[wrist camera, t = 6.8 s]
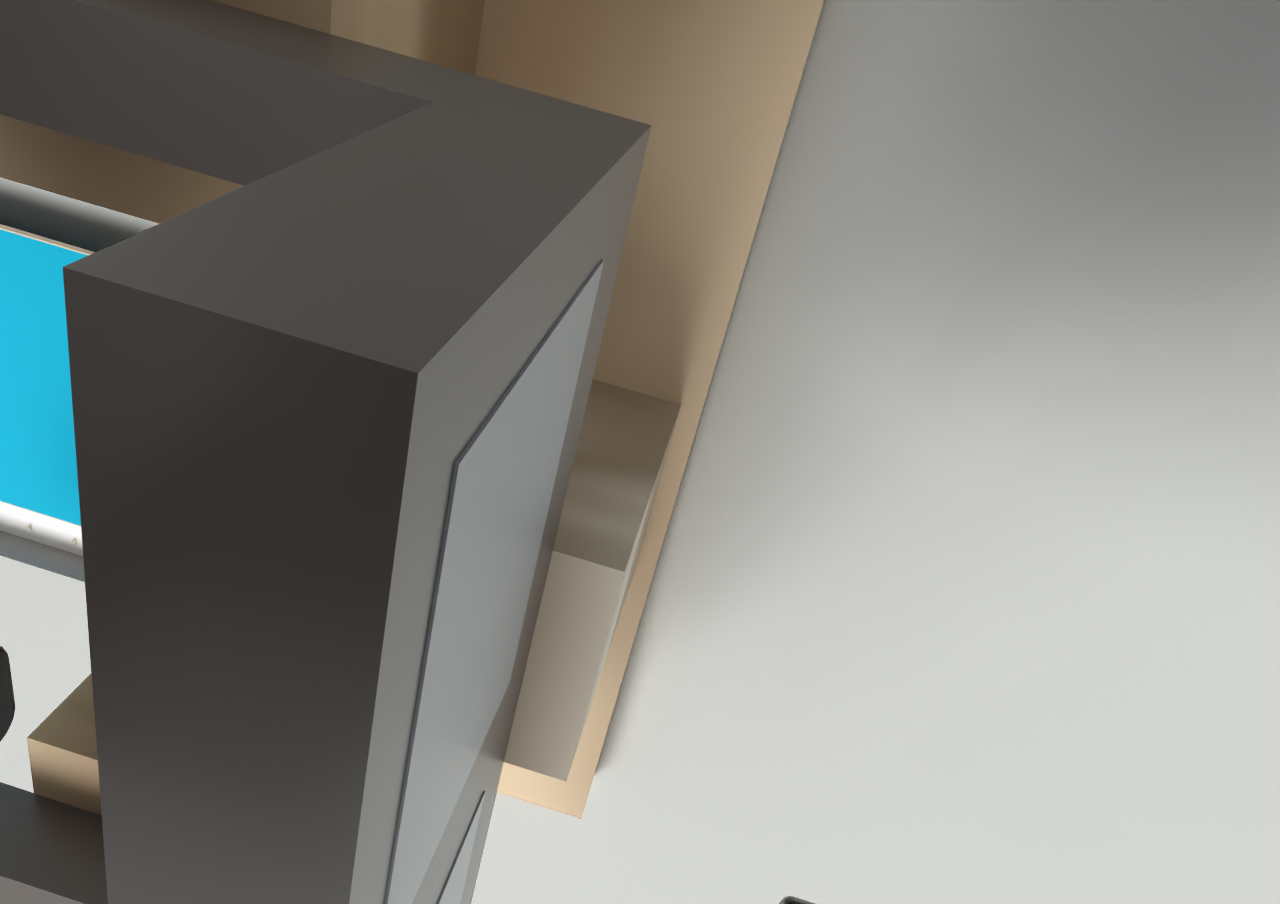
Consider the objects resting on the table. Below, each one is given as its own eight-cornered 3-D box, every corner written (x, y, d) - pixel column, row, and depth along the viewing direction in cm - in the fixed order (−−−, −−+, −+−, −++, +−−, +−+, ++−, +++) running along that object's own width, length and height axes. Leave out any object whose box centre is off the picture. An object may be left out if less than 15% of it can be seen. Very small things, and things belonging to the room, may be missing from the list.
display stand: (828, -17, 12) (817, 24, 7) (593, 776, 19) (517, 1035, 14) (197, -186, 12) (-166, -245, 8) (198, 653, 19) (8, 869, 15)
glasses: (654, 126, 8) (421, 375, 4) (455, 974, 14) (280, 1451, 10) (-302, -147, 8) (-1546, -215, 4) (-95, 794, 14) (-501, 1175, 10)
